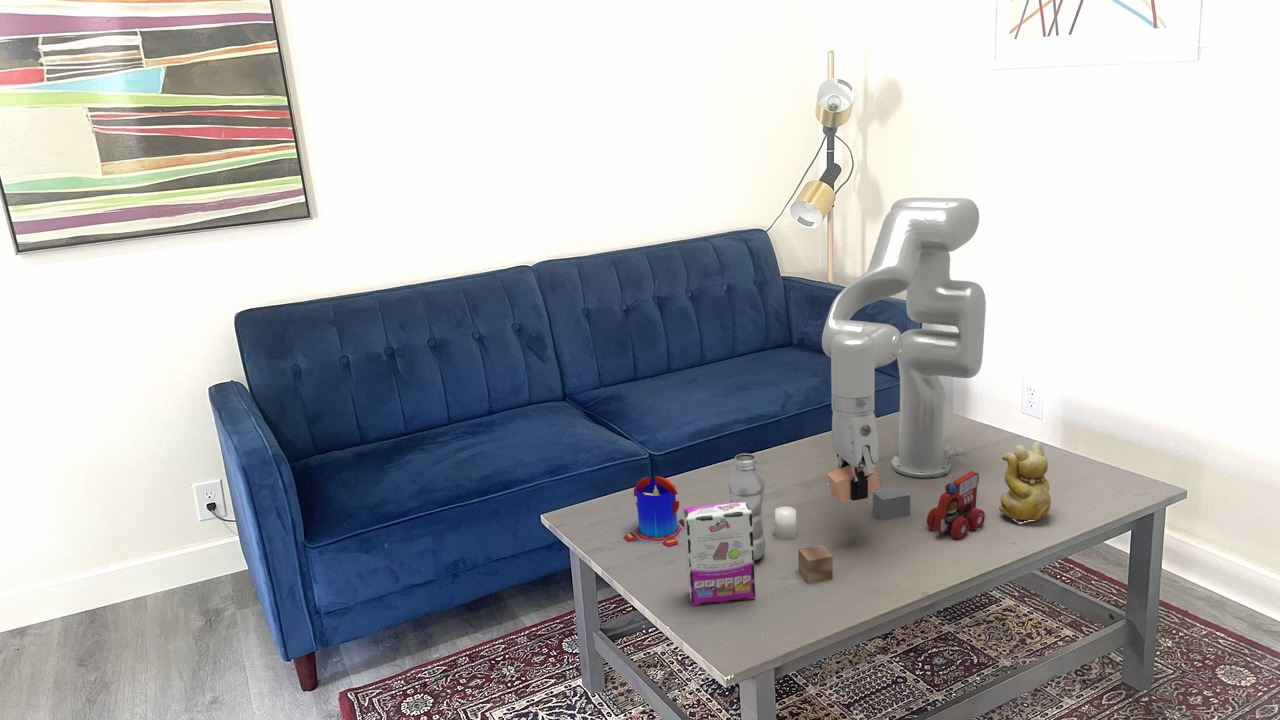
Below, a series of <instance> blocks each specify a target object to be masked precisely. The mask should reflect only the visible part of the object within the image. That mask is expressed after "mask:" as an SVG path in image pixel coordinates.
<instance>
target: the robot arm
mask: <svg viewBox="0 0 1280 720" xmlns="http://www.w3.org/2000/svg"><path fill="white" fill-rule="evenodd" d="M979 222H980V211H979V208H978V206H977V204H976V203H975V202H974V201H973V199H969V198H961V197H959V198H958V197H956V198H955V197H905V198H901V199H898V200H897V201H894V202H893V203H892V205H891V207H890V211H889V212H888V213H887V214H886V215H885V217H884V220H883V222H882V226H881V229H880V231H879V235H878V237H877V241H876V244H875V246H874V250H873V253H872V256H871V258H870V259H871V260H870V262H869V265H868V268H867V270H866V271H865V272H864V273H862V274H861V275H859V276H857V278H855V279H854V280H852V281H851V282H850V283H849V284H848V285H846V287H844V289H842V291H840V292H839V293H838V295H837V296H836V297H835V298H834V301H832V304H831V306H830V308H829V311H828V315H827V317H826V321H825V324H824V327H823V332H822V335H821V345H822V350H823V352H824V353H825V355H826V356H827V357H829V358H830V359H831V360H830V361H831V363H830V364H831V365H830V366H831V370H830V372H831V376H830V377H831V379H830V380H831V410H832V421H831V422H832V423H831V444H832V449H833V451H834V452H835V453H836V457H837V467H838V468H837V469H840V468H843V467H845V466H848V465H851V466H852V477H853V480H851V500H850V501H852V502H855V501H861V500H864V499H868V497H869V492H868V480H869V476H870V475H872V474H874V469H873V465H878V463H879V436H878V427H877V426H878V425H877V420H876V414H875V412H874V411H875V410H876V409H875V408H876V407H875V392H876V391H875V385H876V383H875V382H876V381H875V371H876V369H877V368H880V367H884V366H887V365H889V364H891V363H893V362H894V361H895V360H896V359H897V365H898V370H899V371H898V372H899V392H900V393H899V396H900V397H899V430H898V433H899V434H898V435H899V436H898V437H899V439H898V440H899V441H898V454H897V455H895V456H894V457H893V458H892V459H891V468H892V469H893V470H894V471H896V472H897V473H898V474H900V475H903V476H907V477H911V478H919V479H930V478H931V477H933V478H937V477H938V476H939V477H942V476H944V474H945V475H947V474H948V473H950V471H951V468H952V467H951V466H952V464H951V461H950V459H952V457H953V458H954V457H956V458H957V457H959V456H960V457H961V456H963V455H964V454H965V451H964V448H963V447H962V446H959V447H958V446H957V447H952V445H951V444H948V445H945V430H946V429H945V427H946V426H945V423H946V402H947V399H946V398H947V397H946V395H947V394H946V390H945V386H944V385H943V383H942V381H941V379H940V378H939V376H940V377H949V378H957V379H972V378H974V377H976V375H978V374H979V372H980V371H981V368H982V363H983V357H984V356H983V355H984V341H985V340H984V339H985V338H984V337H985V325H986V308H987V306H986V304H987V303H986V295H985V291H984V289H983V287H982V286H981V285H980V284H978V283H976V282H974V281H969V280H959V279H958V280H955V279H951V276H950V275H951V274H950V273H951V272H950V270H951V254H950V252H954V251H957V250H958V249H959V248H961V247H962V246H964V245H965V244H968V242H969V241H970V240H971V239H973V237H974V236H975V234H976V232H977V231H978V228H979V224H980V223H979ZM905 291H906V296H905V297H906V298H905V299H906V300H905V302H906V303H905V307H906V313H907V316H908V318H909V319H910V320H912V321H913V322H916V323H922V324H929V325H939V326H951V327H955V328H956V329H957V330H958V331H957V332H956V331H948V330H947V331H946V330H938V329H930V328H929V329H928V328H913V329H908V330H906V331H904V332H903V333H902V334H901V332H900V330H899V329H898V328H897V327H896V326H893V325H892V324H888V323H879V322H869V321H861V320H850V319H851V318H852V317H853V315H855V314H856V313H857V312H858V311H859V310H860V309H862V308H864V307H865V306H867V305H869V304H872V303H874V302H878V301H880V300H883V299H887V298H890V297H893V296H896V295H899V294H901V293H903V292H905ZM860 461H862V463H859V462H860ZM872 464H873V465H872ZM861 467H863V470H861V471H859V472H858V473H857V468H861ZM947 472H948V473H947ZM946 473H947V474H946Z"/></svg>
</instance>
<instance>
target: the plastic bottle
mask: <svg viewBox="0 0 1280 720" xmlns="http://www.w3.org/2000/svg"><path fill="white" fill-rule="evenodd" d="M756 458H757V457H756V456H755V455H754V454H752V453H740V454H737V455H736V456H734V469H735V470H734V471H733V474H731V476H730V478H729V480H728V483H727V485H728V486H727V487H728V494H729V500H730V503H732V502H741V501H746V502H747V505H748V507H749V508H750V510H751V512H752V530H753V554H754V562H755V561H758V560H760V559H761V558H762V557H763V556H764V554H765V552H766V547H767V543H766V537H765V534H764V527H763V526H764V525H763V519H762V518H763V515H762V514H763V500H764V494H765V486H766V485H765V481H764V479H763V477H762V475H761V474H760V473H759V472H758V471H757V470H756V468H757V463H756V462H757V461H756V460H757V459H756Z"/></svg>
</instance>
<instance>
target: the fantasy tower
mask: <svg viewBox="0 0 1280 720" xmlns="http://www.w3.org/2000/svg"><path fill="white" fill-rule="evenodd" d="M676 495H678V492H677V488H676V486H675V485H674V484H673V483H672V482H671V481H670V480H669V479H667V478H665V477H663V476H654V479H651V480H650V478H649V476H645V477H642V478H641V479H640V480H639V481H638V482H637V483H636V485H635V486H634V489H633V497H636V502H635V505H636V508H637V518H638V519H637V520H638V523H637V524H638V526H637V527H636V529H635V530H634V531H633V532H632V531H631V532H628V533H626V534H625V535H624V536H623V537H622V539H624V540H625V541H626V542H627V543H635V542H636V543H637V542H638V541H640V542H643V543H644V542H645V543H651V542H655V543H654V544H659V543H660V544H661V545H662V544H663V545H664V547H665V546H667V547H666V548H668V547H670V548H673V547H672V546H674V547H677V546H676V545H678V543H679V540H678V539H676V538H677V537H678V536H679V535H680V536H681V534H682V533H683V532H682V530H683V531H684V529H685V527H684V518H682V519H679V520H678V515H677V513H678V510H679V508H680V501H679V500H677V498H676ZM678 522H679V523H680V524H681V525H682V526H683V527H684V528H683V527H682V526H681V525H680V524H679V523H678ZM681 532H682V533H681ZM680 533H681V534H680ZM680 536H679V537H680ZM679 537H678V538H679ZM656 542H657V543H656ZM662 542H663V543H662ZM663 545H662V546H663ZM678 546H679V545H678Z"/></svg>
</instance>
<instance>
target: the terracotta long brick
mask: <svg viewBox="0 0 1280 720" xmlns="http://www.w3.org/2000/svg"><path fill="white" fill-rule="evenodd" d="M859 463H862V461H860V462H859ZM872 465H873V469H874V474H872V475H870V476H869V480H868V493H870V492H874V491H875V490H876V491H877V489H881V485H880V480H879V475H878V471H877V467H876V465H875V464H873V463H872ZM861 470H863V467H861V468H857V473H858V472H859V471H861ZM826 476H827V481H828V484H829V488H830V489H829V490H830V493H831V495H832V496H833V497H834V498H835V499H836V500H837V501H838V502H839V503H840V504H843V503H846V502H848V501H852V500H851V480H853V477H852V466H851V465H848V466H845V467H843V468H840V469H839V468H837V469H835V470H833V471H831V472H827V473H826Z"/></svg>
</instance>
